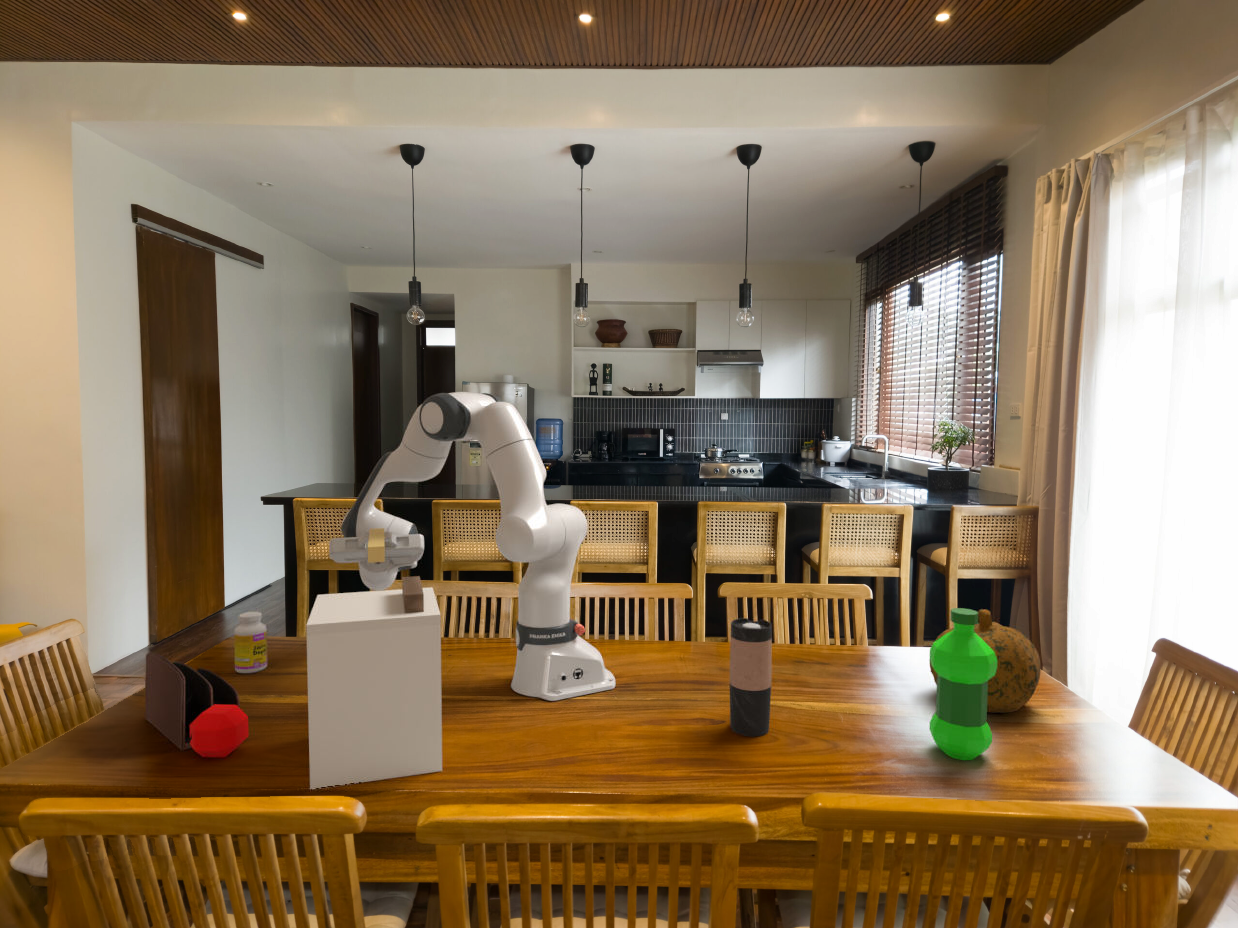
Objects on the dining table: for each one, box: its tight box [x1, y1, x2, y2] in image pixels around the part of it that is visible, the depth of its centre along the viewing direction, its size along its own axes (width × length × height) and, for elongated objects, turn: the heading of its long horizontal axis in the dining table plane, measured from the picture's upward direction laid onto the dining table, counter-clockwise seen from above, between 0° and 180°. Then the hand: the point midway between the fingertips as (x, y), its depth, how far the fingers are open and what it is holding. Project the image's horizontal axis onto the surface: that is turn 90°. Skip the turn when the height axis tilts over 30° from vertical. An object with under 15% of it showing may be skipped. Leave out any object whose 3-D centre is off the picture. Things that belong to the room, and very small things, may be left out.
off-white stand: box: [305, 586, 443, 791], centre depth 124 cm, size 20×20×26 cm
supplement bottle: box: [233, 611, 268, 674], centre depth 166 cm, size 7×7×13 cm
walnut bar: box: [401, 575, 424, 613], centre depth 125 cm, size 3×14×3 cm, turn 18°
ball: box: [190, 704, 250, 758], centre depth 125 cm, size 8×8×8 cm
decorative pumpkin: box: [929, 608, 1041, 714], centre depth 148 cm, size 20×21×20 cm
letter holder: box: [144, 652, 241, 751], centre depth 135 cm, size 10×20×14 cm, turn 49°
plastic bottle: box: [929, 607, 997, 761], centre depth 125 cm, size 10×10×25 cm
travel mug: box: [729, 617, 773, 737], centre depth 135 cm, size 8×8×20 cm
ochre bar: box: [368, 528, 385, 563], centre depth 148 cm, size 3×24×3 cm, turn 18°
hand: (377, 535), depth 157 cm, fingers closed on ochre bar, 3 cm apart
